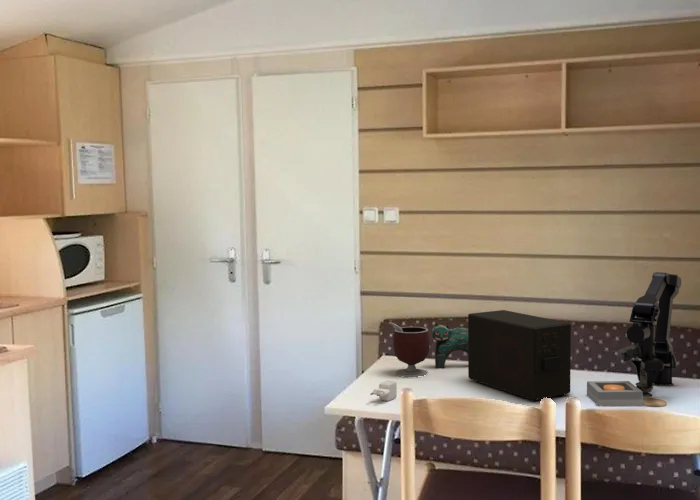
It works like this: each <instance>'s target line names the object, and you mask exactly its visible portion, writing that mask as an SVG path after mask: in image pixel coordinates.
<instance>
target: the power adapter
mask: <svg viewBox="0 0 700 500" xmlns="http://www.w3.org/2000/svg"><path fill="white" fill-rule="evenodd" d="M397 387H398V386H397V382H396V381H394V380H385V381H383V382H380V383H379V384H378V388H375V389H374V390H373V391H372V392H370V396H373V395H374V396H377V397H378V398H379V400H381V401H384V402H389V401H392V400H394V399H396V398H397V397H398V396H397V395H398V394H397V392H398V391H397Z"/></svg>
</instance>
